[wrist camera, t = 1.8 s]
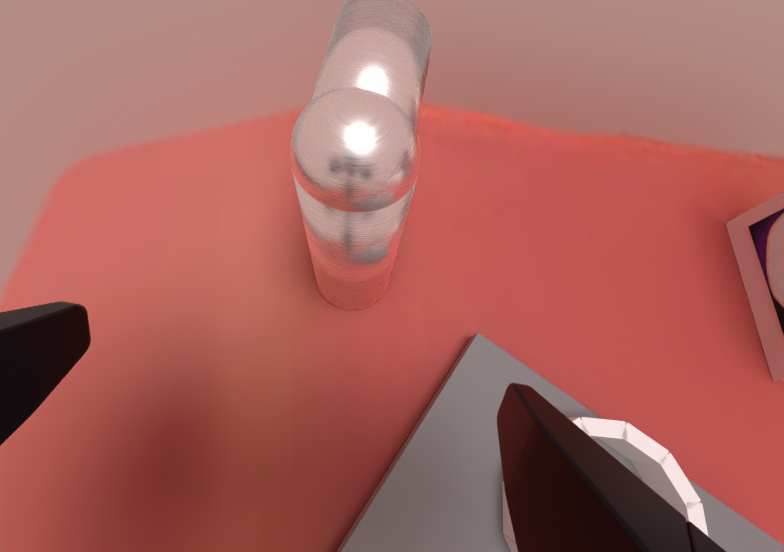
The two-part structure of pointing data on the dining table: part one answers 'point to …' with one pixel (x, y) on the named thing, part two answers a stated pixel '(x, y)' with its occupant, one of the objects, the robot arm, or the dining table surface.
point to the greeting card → (763, 273)
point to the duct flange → (485, 478)
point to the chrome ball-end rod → (362, 147)
